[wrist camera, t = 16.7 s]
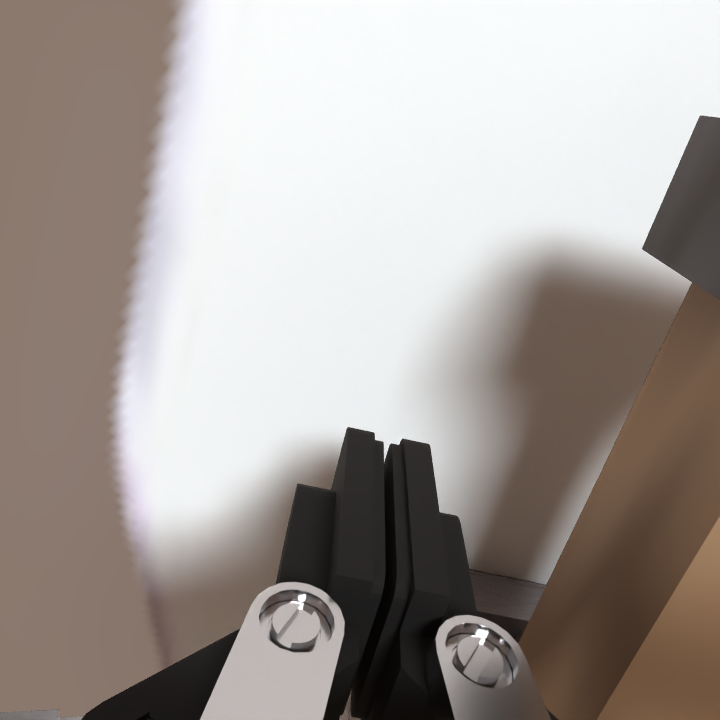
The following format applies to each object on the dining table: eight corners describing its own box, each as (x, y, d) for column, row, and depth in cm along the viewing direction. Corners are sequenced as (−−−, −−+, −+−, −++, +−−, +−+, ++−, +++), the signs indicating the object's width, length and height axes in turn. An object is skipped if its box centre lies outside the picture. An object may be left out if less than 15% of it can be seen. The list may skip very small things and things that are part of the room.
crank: (553, 774, 18) (610, 1004, 14) (390, 746, 18) (396, 973, 13) (907, 177, 11) (1281, 249, 6) (644, 108, 11) (845, 133, 6)
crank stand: (808, 795, 22) (837, 843, 20) (348, 713, 20) (346, 758, 19) (1175, 388, 15) (1256, 420, 13) (512, 229, 14) (527, 246, 12)
